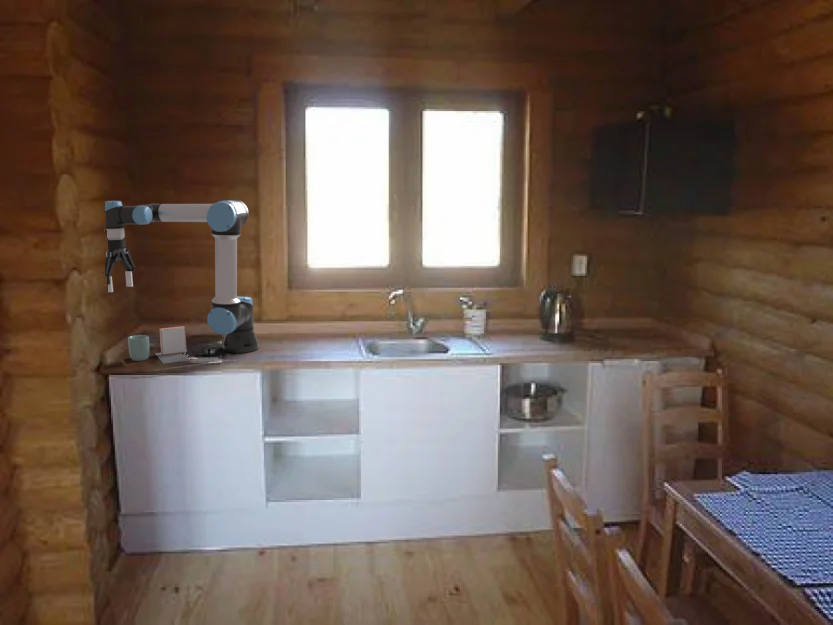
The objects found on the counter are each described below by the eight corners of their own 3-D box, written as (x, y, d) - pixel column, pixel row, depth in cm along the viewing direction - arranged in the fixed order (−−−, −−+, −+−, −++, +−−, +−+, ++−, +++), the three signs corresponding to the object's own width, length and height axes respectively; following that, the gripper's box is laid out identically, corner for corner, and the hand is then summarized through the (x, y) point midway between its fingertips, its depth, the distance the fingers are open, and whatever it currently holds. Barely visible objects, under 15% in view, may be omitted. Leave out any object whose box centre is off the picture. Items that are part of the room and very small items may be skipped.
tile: (161, 354, 312) (159, 328, 309) (185, 351, 317) (184, 326, 314) (162, 355, 310) (160, 329, 308) (186, 352, 315) (185, 327, 312)
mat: (155, 355, 313) (154, 353, 313) (188, 351, 320) (188, 349, 320) (163, 365, 298) (163, 363, 298) (199, 360, 305) (198, 359, 305)
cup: (143, 357, 310) (141, 333, 308) (153, 360, 306) (152, 336, 304) (126, 361, 305) (124, 337, 302) (136, 364, 300) (134, 340, 298)
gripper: (125, 235, 321) (130, 284, 325) (87, 241, 297) (92, 294, 302) (141, 235, 319) (145, 284, 323) (103, 242, 295) (109, 294, 300)
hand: (119, 289), depth 313 cm, fingers open, 13 cm apart
